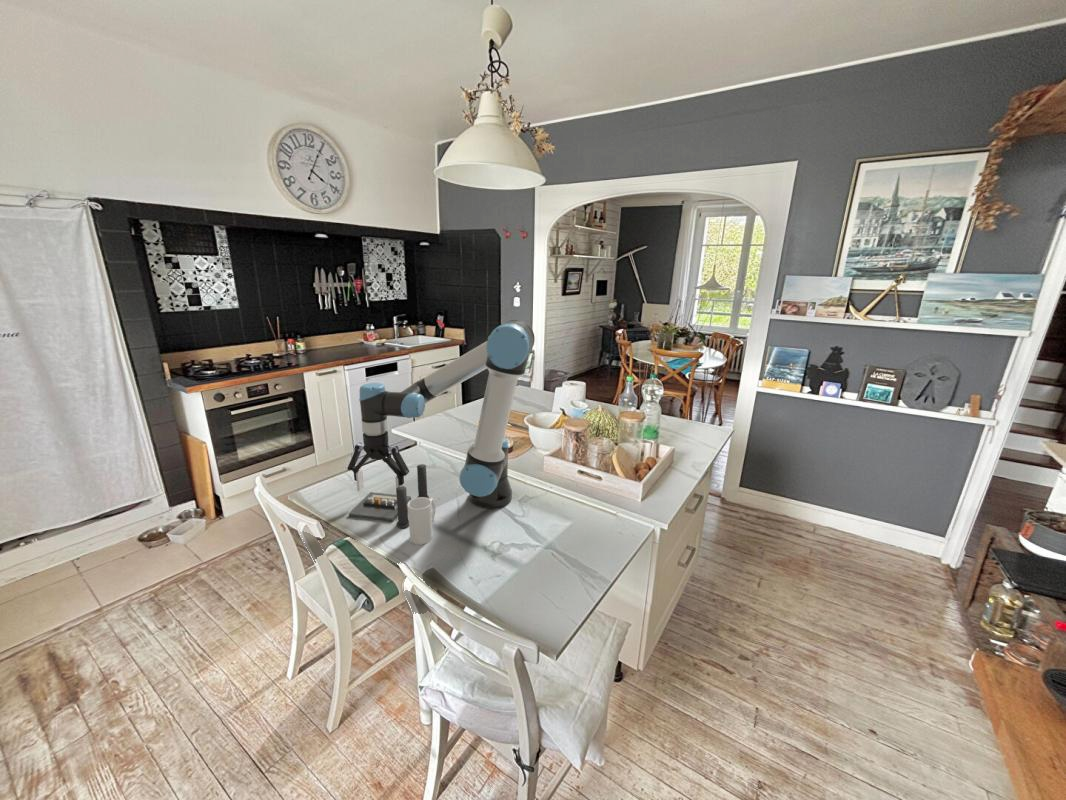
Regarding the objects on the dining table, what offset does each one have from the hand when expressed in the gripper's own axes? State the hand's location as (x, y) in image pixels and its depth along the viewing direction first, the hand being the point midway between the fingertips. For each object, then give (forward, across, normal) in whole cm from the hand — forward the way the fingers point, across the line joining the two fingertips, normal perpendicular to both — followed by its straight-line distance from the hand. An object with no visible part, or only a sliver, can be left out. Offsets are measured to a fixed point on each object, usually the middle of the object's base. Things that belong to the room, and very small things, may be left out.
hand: (379, 491), depth 140 cm
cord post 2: (+6, -12, -8) cm, 15 cm away
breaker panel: (+6, 0, 0) cm, 6 cm away
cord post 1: (+6, -12, +8) cm, 15 cm away
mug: (+6, -20, +12) cm, 24 cm away
